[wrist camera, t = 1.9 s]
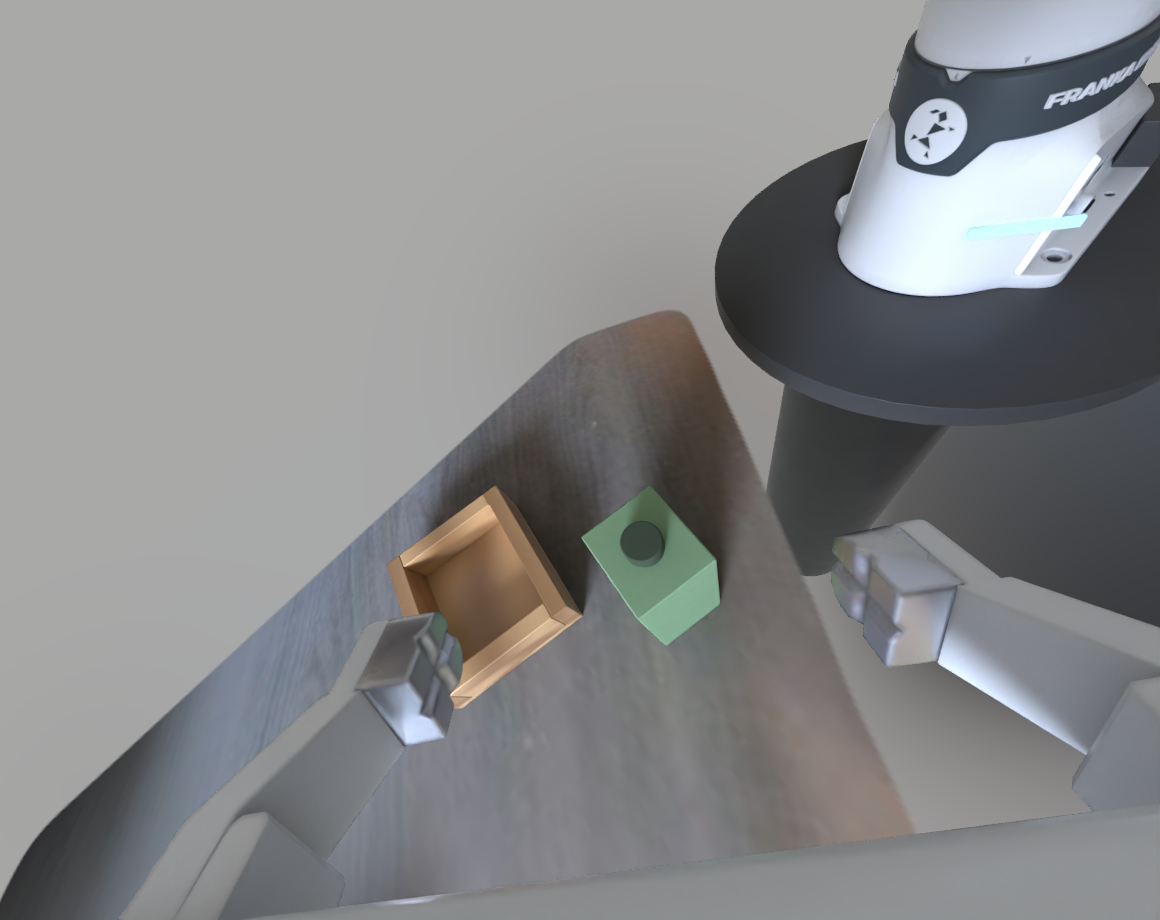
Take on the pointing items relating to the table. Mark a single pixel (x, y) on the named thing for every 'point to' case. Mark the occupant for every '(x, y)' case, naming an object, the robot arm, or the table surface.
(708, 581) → the green carton with cap
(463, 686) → the wooden tray
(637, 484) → the table surface
